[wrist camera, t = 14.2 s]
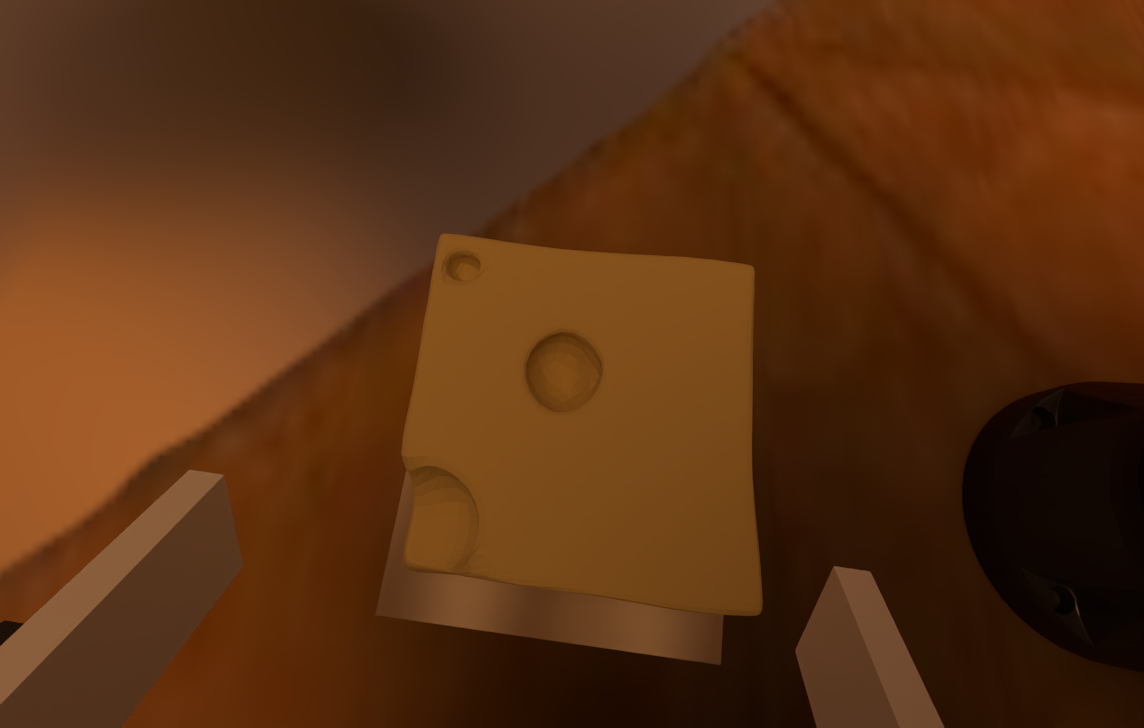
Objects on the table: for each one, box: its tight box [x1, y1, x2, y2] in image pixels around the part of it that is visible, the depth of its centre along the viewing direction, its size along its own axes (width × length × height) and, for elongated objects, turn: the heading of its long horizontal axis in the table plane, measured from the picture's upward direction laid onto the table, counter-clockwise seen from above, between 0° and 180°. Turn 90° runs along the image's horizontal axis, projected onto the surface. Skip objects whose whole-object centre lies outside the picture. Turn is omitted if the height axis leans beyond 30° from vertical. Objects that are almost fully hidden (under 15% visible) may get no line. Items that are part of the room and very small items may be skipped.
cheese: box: [401, 234, 763, 616], centre depth 21 cm, size 10×11×10 cm
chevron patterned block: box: [375, 470, 724, 665], centre depth 29 cm, size 14×14×8 cm
